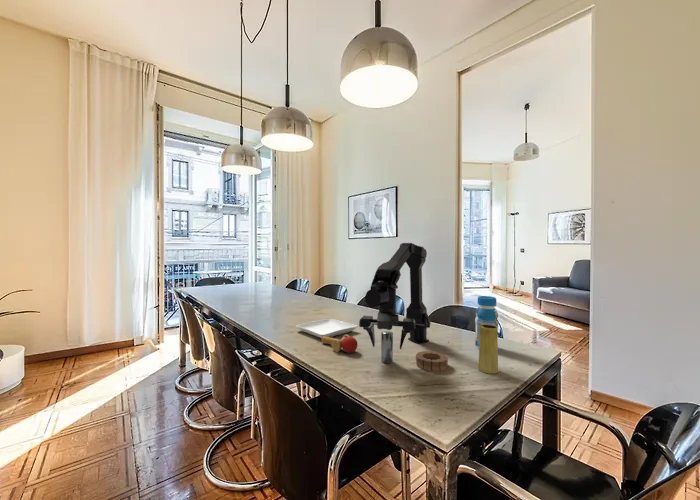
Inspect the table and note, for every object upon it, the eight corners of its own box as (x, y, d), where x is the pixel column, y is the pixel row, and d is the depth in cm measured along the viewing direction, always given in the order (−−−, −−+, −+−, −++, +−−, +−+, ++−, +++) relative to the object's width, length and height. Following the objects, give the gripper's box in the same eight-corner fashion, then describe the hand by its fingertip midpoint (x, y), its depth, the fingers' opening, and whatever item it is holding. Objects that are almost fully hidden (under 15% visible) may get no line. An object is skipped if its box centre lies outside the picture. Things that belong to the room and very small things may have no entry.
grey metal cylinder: (387, 358, 107) (388, 330, 107) (395, 362, 104) (395, 333, 104) (378, 360, 105) (379, 332, 105) (385, 364, 102) (386, 335, 102)
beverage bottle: (483, 352, 115) (484, 299, 114) (470, 344, 123) (470, 295, 123) (503, 350, 116) (503, 298, 116) (488, 343, 125) (489, 295, 124)
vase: (497, 375, 94) (498, 329, 93) (476, 371, 97) (476, 326, 97) (499, 369, 99) (500, 325, 99) (479, 365, 102) (480, 322, 102)
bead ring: (431, 357, 108) (431, 349, 108) (453, 367, 100) (453, 358, 100) (409, 363, 103) (410, 354, 103) (431, 373, 95) (431, 364, 95)
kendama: (315, 349, 121) (347, 354, 108) (316, 332, 122) (347, 336, 109) (330, 348, 126) (361, 353, 113) (330, 332, 127) (362, 335, 115)
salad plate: (294, 331, 141) (294, 324, 141) (329, 324, 155) (329, 317, 155) (322, 342, 125) (322, 334, 125) (358, 333, 140) (358, 325, 140)
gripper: (355, 305, 99) (355, 353, 99) (414, 308, 94) (413, 358, 94) (362, 299, 110) (362, 342, 110) (415, 302, 105) (415, 347, 105)
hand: (387, 347), depth 105 cm, fingers open, 9 cm apart
